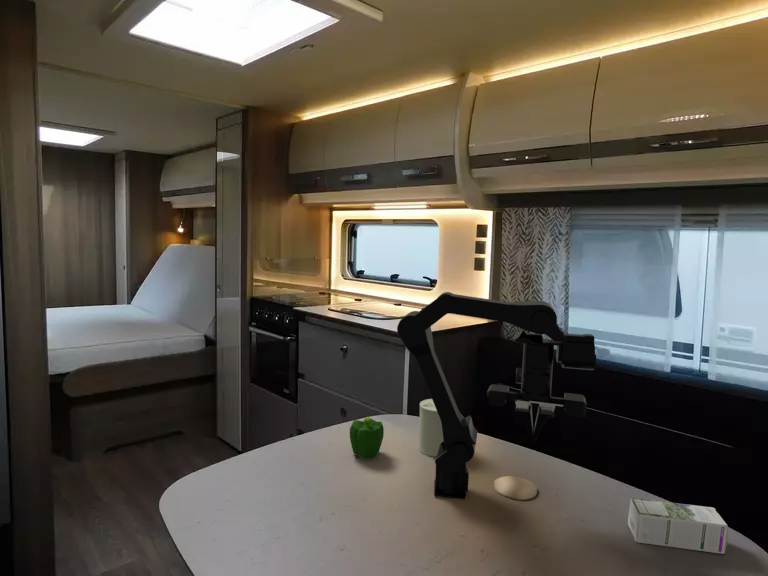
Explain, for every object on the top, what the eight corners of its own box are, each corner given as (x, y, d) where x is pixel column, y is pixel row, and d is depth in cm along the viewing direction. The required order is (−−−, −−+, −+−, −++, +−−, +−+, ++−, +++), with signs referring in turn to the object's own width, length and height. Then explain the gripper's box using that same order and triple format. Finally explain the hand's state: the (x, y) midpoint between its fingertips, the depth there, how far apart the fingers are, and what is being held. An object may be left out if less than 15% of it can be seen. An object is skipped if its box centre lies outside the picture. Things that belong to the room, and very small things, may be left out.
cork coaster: (496, 498, 104) (496, 495, 104) (491, 476, 113) (491, 474, 113) (540, 501, 103) (541, 499, 103) (532, 480, 112) (533, 477, 112)
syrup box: (635, 543, 90) (725, 556, 87) (638, 513, 89) (730, 525, 86) (626, 524, 95) (711, 536, 92) (630, 495, 94) (715, 506, 92)
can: (414, 441, 130) (416, 396, 129) (449, 440, 131) (451, 396, 130) (421, 457, 121) (423, 409, 120) (458, 456, 122) (461, 409, 121)
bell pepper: (352, 445, 127) (353, 407, 126) (384, 448, 126) (385, 410, 125) (345, 460, 119) (346, 420, 117) (379, 463, 118) (381, 422, 116)
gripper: (585, 360, 104) (580, 432, 106) (493, 351, 110) (490, 420, 112) (589, 375, 93) (583, 455, 95) (487, 364, 99) (483, 439, 101)
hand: (532, 441), depth 101 cm, fingers closed
